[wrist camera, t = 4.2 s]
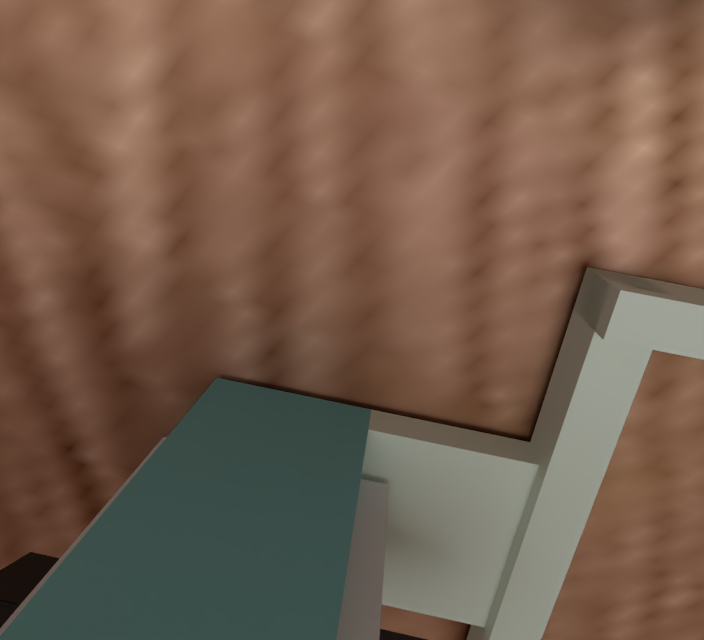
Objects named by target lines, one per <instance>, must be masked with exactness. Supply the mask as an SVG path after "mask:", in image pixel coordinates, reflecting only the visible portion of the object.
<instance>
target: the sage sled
mask: <svg viewBox="0 0 704 640" xmlns="http://www.w3.org/2000/svg"><path fill="white" fill-rule="evenodd" d="M652 350H657V351H662V352H667V353H672V354H677V355H682V356H687V357H693V358H698V359H703V360H704V289H701V288H695V287H690V286H685V285H680V284H674V283H669V282H664V281H659V280H653V279H648V278H643V277H637V276H632V275H627V274H622V273H616V272H611V271H606V270H601V269H595V268H590V267H587V269H586V272H585V275H584V278H583V281H582V284H581V287H580V290H579V293H578V296H577V299H576V303H575V306H574V309H573V312H572V315H571V318H570V321H569V324H568V327H567V330H566V333H565V337H564V340H563V343H562V346H561V349H560V352H559V355H558V358H557V361H556V364H555V367H554V370H553V374H552V377H551V380H550V383H549V386H548V389H547V392H546V395H545V398H544V401H543V404H542V408H541V411H540V414H539V417H538V420H537V423H536V426H535V429H534V432H533V435H532V438H531V441H530V442H526V441H522V440H517V439H512V438H507V437H502V436H497V435H492V434H488V433H483V432H478V431H473V430H468V429H463V428H458V427H454V426H449V425H444V424H439V423H434V422H429V421H425V420H420V419H415V418H410V417H405V416H400V415H395V414H391V413H386V412H381V411H376V410H371V409H366V408H361V407H357V406H352V405H347V404H342V403H337V402H332V401H327V400H323V399H318V398H313V397H308V396H303V395H298V394H294V393H289V392H284V391H279V390H274V389H269V388H264V387H260V386H255V385H250V384H245V383H240V382H235V381H230V380H226V379H221V378H216V379H215V380H214V382H213V383H212V384H211V385H210V386H209V388H208V389H207V390H206V391H205V392H204V394H203V395H202V396H201V397H200V398H199V400H198V401H197V402H196V403H195V404H194V405H193V407H192V408H191V409H190V410H189V411H188V413H187V414H186V415H185V416H184V417H183V419H182V420H181V421H180V422H179V423H178V425H177V426H176V427H175V428H174V429H173V431H172V432H171V433H170V434H169V435H168V436H167V438H166V439H165V440H164V441H163V442H162V444H161V445H160V446H159V447H158V448H157V450H156V451H155V452H154V453H153V454H152V456H151V457H150V458H149V459H148V460H147V461H146V463H145V464H144V465H143V466H142V467H141V469H140V470H139V471H138V472H137V473H136V475H135V476H134V477H133V478H132V479H131V481H130V482H129V483H128V484H127V485H126V487H125V488H124V489H123V490H122V491H121V492H120V494H119V495H118V496H117V497H116V498H115V500H114V501H113V502H112V503H111V504H110V506H109V507H108V508H107V509H106V510H105V512H104V513H103V514H102V515H101V516H100V517H99V519H98V520H97V521H96V522H95V523H94V525H93V526H92V527H91V528H90V529H89V531H88V532H87V533H86V534H85V535H84V537H83V538H82V539H81V540H80V541H79V543H78V544H77V545H76V546H75V547H74V548H73V550H72V551H71V552H70V553H69V554H68V556H67V557H66V558H65V559H64V560H63V562H62V563H61V564H60V565H59V566H58V568H57V569H56V570H55V571H54V572H53V573H52V575H51V576H50V577H49V578H48V579H47V581H46V582H45V583H44V584H43V585H42V587H41V588H40V589H39V590H38V591H37V593H36V594H35V595H34V596H33V597H32V599H31V600H30V601H29V602H28V603H27V604H26V606H25V607H24V608H23V609H22V610H21V612H20V613H19V614H18V615H17V616H16V618H15V619H14V620H13V621H12V622H11V624H10V625H9V626H8V627H7V628H6V630H5V631H4V632H3V633H2V634H1V635H0V640H336V638H337V632H338V625H339V619H340V612H341V605H342V599H343V592H344V586H345V579H346V573H347V566H348V560H349V553H350V546H351V540H352V533H353V527H354V520H355V514H356V507H357V501H358V494H359V487H360V481H361V479H365V480H369V481H374V482H379V483H383V484H388V485H390V486H389V501H388V516H387V531H386V546H385V561H384V576H383V591H382V605H386V606H391V607H395V608H400V609H404V610H408V611H413V612H417V613H422V614H426V615H431V616H435V617H440V618H444V619H449V620H453V621H458V622H462V623H467V624H471V627H470V630H469V633H468V636H467V639H466V640H541V639H542V636H543V633H544V631H545V628H546V626H547V623H548V620H549V618H550V615H551V613H552V610H553V607H554V605H555V602H556V600H557V597H558V594H559V592H560V589H561V587H562V584H563V581H564V579H565V576H566V574H567V571H568V568H569V566H570V563H571V561H572V558H573V555H574V553H575V550H576V548H577V545H578V543H579V540H580V537H581V535H582V532H583V530H584V527H585V524H586V522H587V519H588V517H589V514H590V511H591V509H592V506H593V504H594V501H595V498H596V496H597V493H598V491H599V488H600V485H601V483H602V480H603V478H604V475H605V472H606V470H607V467H608V465H609V462H610V459H611V457H612V454H613V452H614V449H615V446H616V444H617V441H618V439H619V436H620V433H621V431H622V428H623V426H624V423H625V420H626V418H627V415H628V413H629V410H630V408H631V405H632V402H633V400H634V397H635V395H636V392H637V389H638V387H639V384H640V382H641V379H642V376H643V374H644V371H645V369H646V366H647V363H648V361H649V358H650V356H651V353H652Z"/></svg>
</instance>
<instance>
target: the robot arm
mask: <svg viewBox="0 0 704 640" xmlns="http://www.w3.org/2000/svg"><path fill="white" fill-rule="evenodd" d="M166 438H167V437H163V438H162V439H161V440H160V441H159V443H158V444H157V445H156V446H155V447H154V449H153V450H152V451H151V452H150V453H149V454H148V456H147V457H146V458H145V459H144V460H143V461H142V463H141V464H140V465H139V466H138V467H137V468H136V470H135V471H134V472H133V473H132V474H131V475H130V477H129V478H128V479H127V480H126V481H125V483H124V484H123V485H122V486H121V487H120V488H119V490H118V491H117V492H116V493H115V494H114V495H113V497H112V498H111V499H110V500H109V501H108V502H107V504H106V505H105V506H104V507H103V508H102V510H101V511H100V512H99V513H98V514H97V515H96V517H95V518H94V519H93V520H92V521H91V522H90V524H89V525H88V526H87V527H86V528H85V529H84V531H83V532H82V533H81V534H80V535H79V536H78V538H77V539H76V540H75V541H74V542H73V544H72V545H71V546H70V547H69V548H68V549H67V551H66V552H65V553H64V554H63V555H62V556H61V558H60V559H59V558H55V557H50V556H46V555H41V554H37V553H33V552H30V553H28V554H27V555H25V556H23V557H22V558H20V559H18V560H17V561H15V562H13V563H12V564H10V565H8V566H7V567H5V568H3V569H2V570H0V635H1V634H2V633H3V632H4V631H5V630H6V628H7V627H8V626H9V625H10V624H11V622H12V621H13V620H14V619H15V618H16V616H17V615H18V614H19V613H20V612H21V610H22V609H23V608H24V607H25V606H26V604H27V603H28V602H29V601H30V600H31V599H32V597H33V596H34V595H35V594H36V593H37V591H38V590H39V589H40V588H41V587H42V585H43V584H44V583H45V582H46V581H47V579H48V578H49V577H50V576H51V575H52V573H53V572H54V571H55V570H56V569H57V568H58V566H59V565H60V564H61V563H62V562H63V560H64V559H65V558H66V557H67V556H68V554H69V553H70V552H71V551H72V550H73V548H74V547H75V546H76V545H77V544H78V543H79V541H80V540H81V539H82V538H83V537H84V535H85V534H86V533H87V532H88V531H89V529H90V528H91V527H92V526H93V525H94V523H95V522H96V521H97V520H98V519H99V517H100V516H101V515H102V514H103V513H104V512H105V510H106V509H107V508H108V507H109V506H110V504H111V503H112V502H113V501H114V500H115V498H116V497H117V496H118V495H119V494H120V492H121V491H122V490H123V489H124V488H125V487H126V485H127V484H128V483H129V482H130V481H131V479H132V478H133V477H134V476H135V475H136V473H137V472H138V471H139V470H140V469H141V467H142V466H143V465H144V464H145V463H146V461H147V460H148V459H149V458H150V457H151V456H152V454H153V453H154V452H155V451H156V450H157V448H158V447H159V446H160V445H161V444H162V442H163V441H164V440H165V439H166ZM389 486H390V485H388V484H383V483H379V482H374V481H369V480H365V479H361V481H360V487H359V494H358V501H357V507H356V514H355V520H354V527H353V533H352V540H351V546H350V553H349V560H348V566H347V573H346V579H345V586H344V592H343V599H342V605H341V612H340V619H339V625H338V632H337V638H336V640H427V639H422V638H418V637H413V636H409V635H404V634H400V633H396V632H391V631H387V630H382V629H380V621H381V606H382V591H383V576H384V561H385V546H386V531H387V516H388V501H389Z"/></svg>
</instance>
